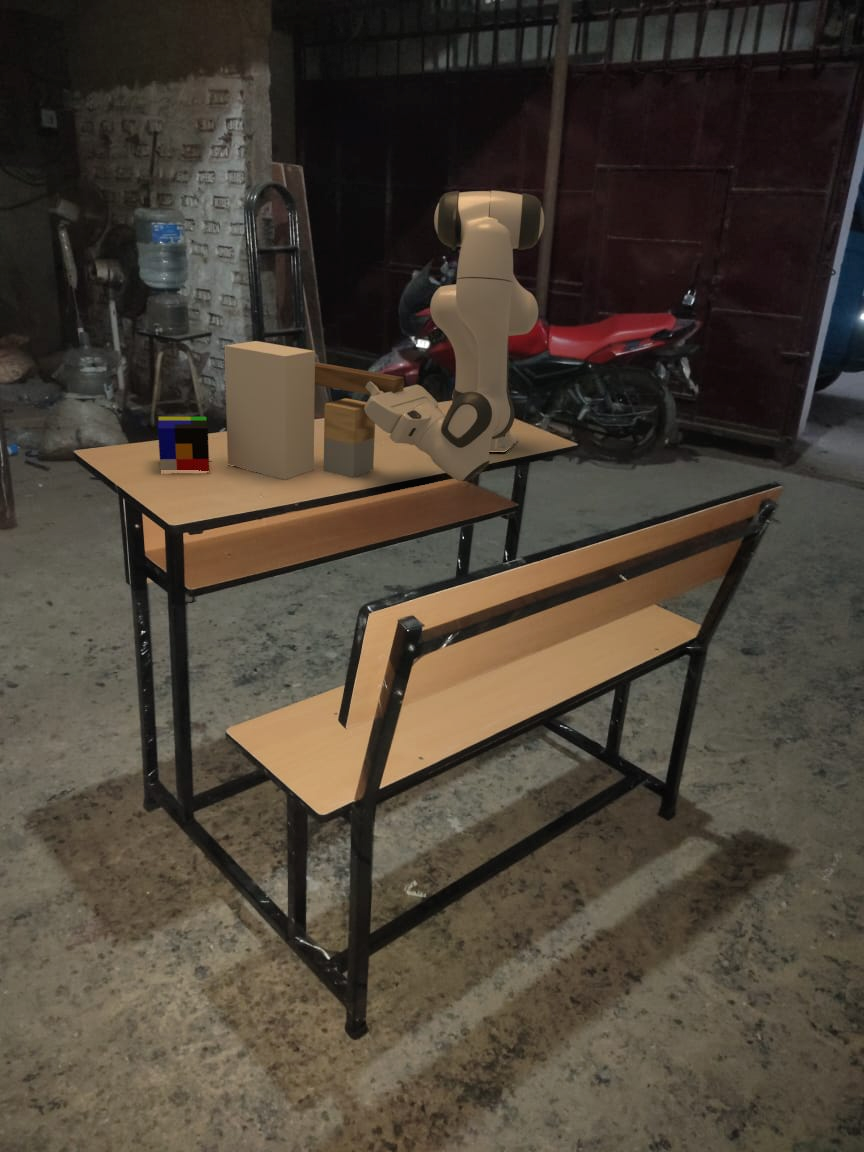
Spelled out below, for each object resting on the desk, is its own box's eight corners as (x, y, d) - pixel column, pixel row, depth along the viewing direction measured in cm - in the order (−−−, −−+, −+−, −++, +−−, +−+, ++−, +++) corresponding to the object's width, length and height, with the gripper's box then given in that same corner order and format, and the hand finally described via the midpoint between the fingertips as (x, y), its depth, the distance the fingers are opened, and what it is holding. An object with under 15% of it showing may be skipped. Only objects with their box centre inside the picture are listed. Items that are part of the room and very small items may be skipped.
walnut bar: (311, 379, 192) (311, 361, 191) (403, 396, 182) (404, 377, 180) (300, 382, 189) (300, 363, 187) (393, 399, 179) (394, 379, 177)
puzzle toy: (160, 474, 181) (157, 428, 177) (161, 461, 190) (158, 416, 186) (209, 473, 184) (207, 428, 180) (207, 460, 193) (206, 416, 189)
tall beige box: (257, 456, 198) (255, 341, 188) (313, 469, 191) (315, 351, 181) (228, 465, 190) (224, 345, 180) (285, 479, 183) (285, 356, 173)
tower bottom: (344, 463, 198) (344, 431, 195) (373, 469, 194) (374, 437, 191) (323, 470, 191) (324, 437, 188) (353, 477, 188) (354, 444, 185)
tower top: (344, 431, 195) (345, 398, 192) (374, 437, 191) (375, 404, 188) (324, 437, 188) (324, 403, 185) (354, 444, 185) (355, 410, 182)
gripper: (453, 404, 186) (407, 364, 188) (404, 420, 169) (355, 376, 172) (438, 426, 190) (394, 387, 192) (390, 444, 173) (341, 400, 175)
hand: (375, 382), depth 182 cm, fingers closed on walnut bar, 4 cm apart
